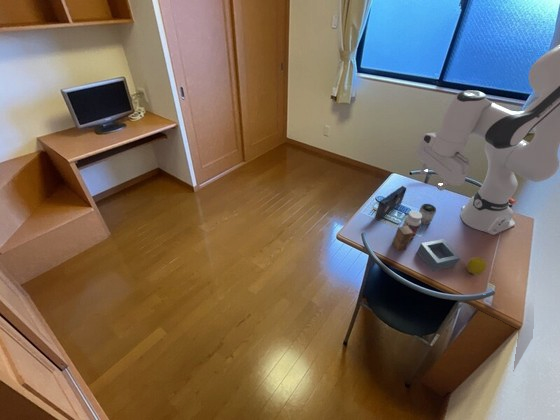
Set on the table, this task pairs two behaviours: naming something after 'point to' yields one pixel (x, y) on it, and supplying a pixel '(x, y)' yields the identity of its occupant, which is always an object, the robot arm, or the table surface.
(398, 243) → the walnut spigot peg
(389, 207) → the vhs cassette tape
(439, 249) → the docking socket
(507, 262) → the table surface
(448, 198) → the table surface
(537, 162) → the robot arm
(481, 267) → the lemon
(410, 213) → the pill bottle
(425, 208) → the camera lens
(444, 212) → the table surface
